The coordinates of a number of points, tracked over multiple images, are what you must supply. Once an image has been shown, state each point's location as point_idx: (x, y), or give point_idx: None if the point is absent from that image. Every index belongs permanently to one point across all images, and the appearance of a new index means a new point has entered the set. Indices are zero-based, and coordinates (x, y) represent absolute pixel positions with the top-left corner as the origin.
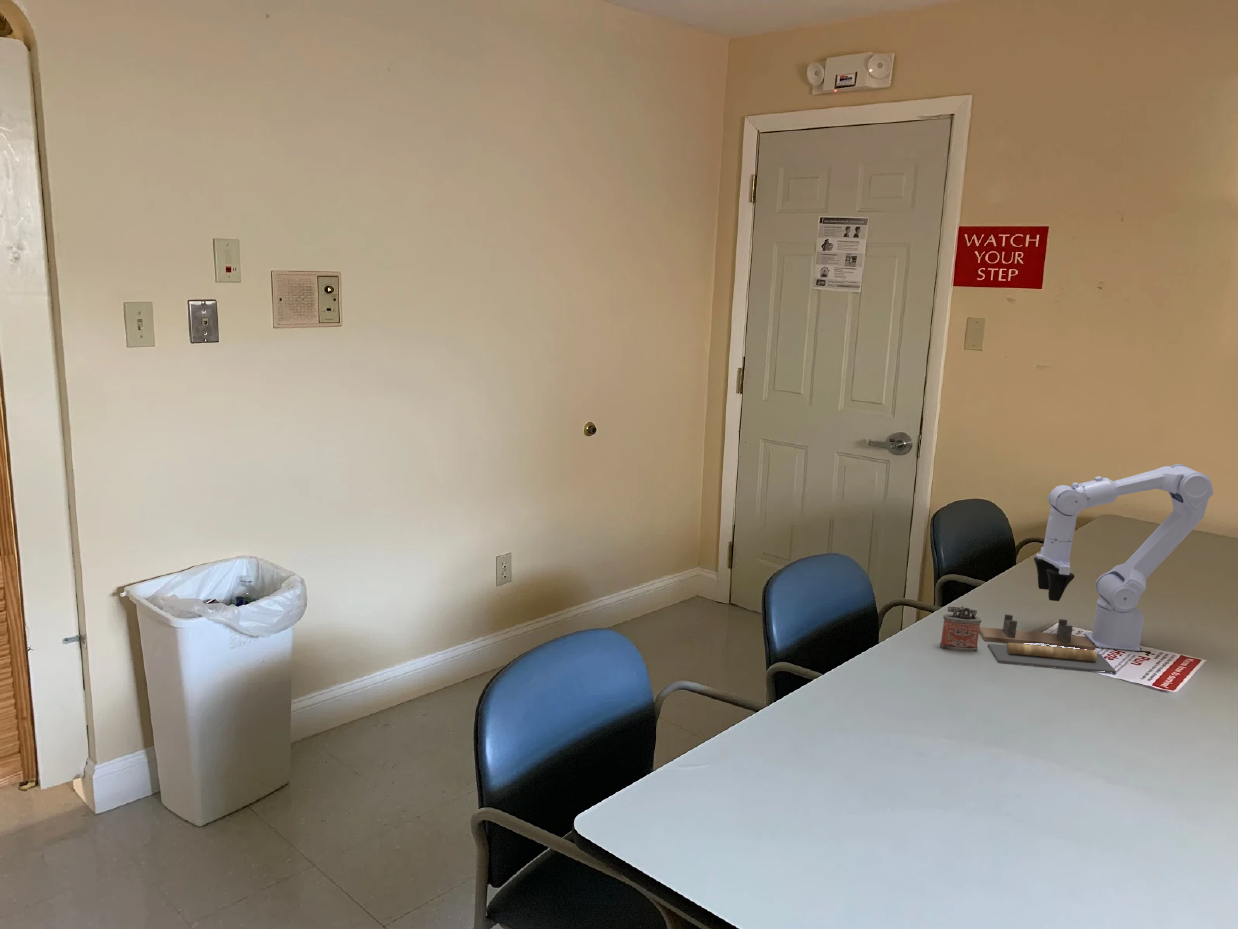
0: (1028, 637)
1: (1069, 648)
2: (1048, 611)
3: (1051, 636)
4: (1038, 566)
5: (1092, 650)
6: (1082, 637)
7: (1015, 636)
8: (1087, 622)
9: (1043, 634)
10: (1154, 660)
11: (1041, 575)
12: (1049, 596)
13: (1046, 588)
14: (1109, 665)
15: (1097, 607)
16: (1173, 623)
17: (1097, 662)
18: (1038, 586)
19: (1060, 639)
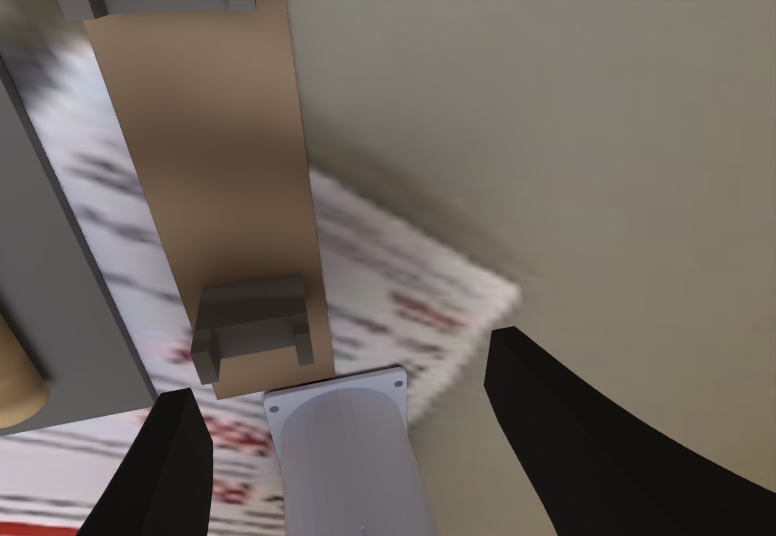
0: (182, 116)
1: None
2: (637, 270)
3: (270, 248)
4: (672, 533)
5: (2, 416)
6: (318, 365)
7: (153, 21)
8: None
9: (285, 213)
10: (227, 513)
11: (574, 443)
12: (147, 421)
13: (489, 381)
14: (14, 428)
15: (365, 528)
16: (544, 528)
17: None
18: (519, 333)
19: (239, 284)
